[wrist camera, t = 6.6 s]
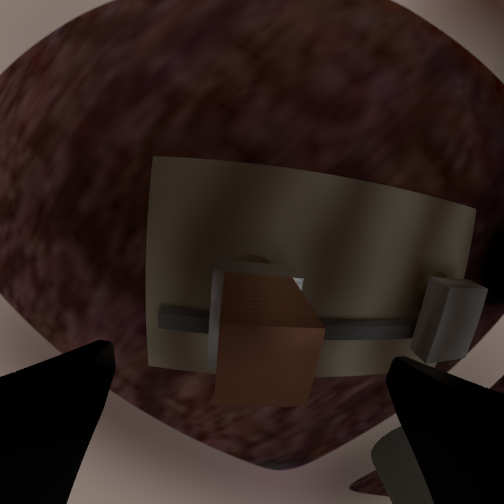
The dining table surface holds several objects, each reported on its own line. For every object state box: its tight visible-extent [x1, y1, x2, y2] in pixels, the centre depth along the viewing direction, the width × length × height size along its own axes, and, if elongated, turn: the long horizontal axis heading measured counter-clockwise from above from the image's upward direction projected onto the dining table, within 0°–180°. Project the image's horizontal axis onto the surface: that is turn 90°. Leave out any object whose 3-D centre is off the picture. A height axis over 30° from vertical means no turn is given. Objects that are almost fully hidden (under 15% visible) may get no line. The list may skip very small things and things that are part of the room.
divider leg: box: [207, 259, 326, 407], centre depth 12 cm, size 4×5×8 cm
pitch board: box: [146, 156, 488, 377], centre depth 16 cm, size 22×13×5 cm, turn 84°
